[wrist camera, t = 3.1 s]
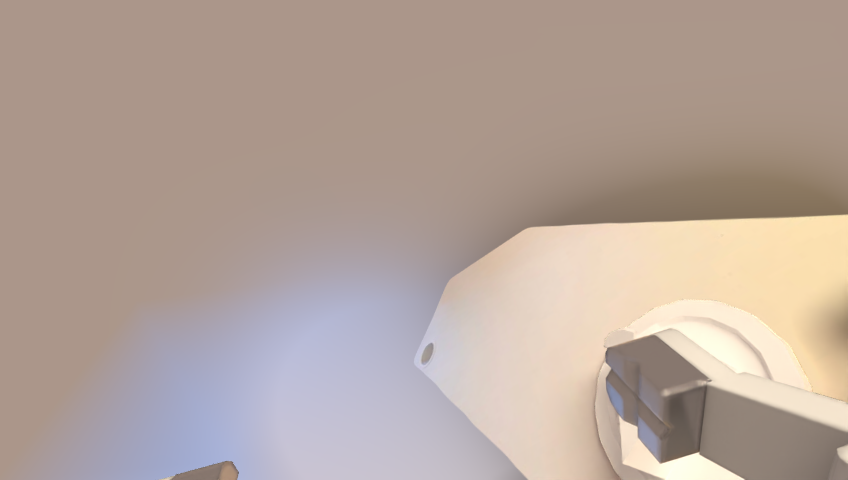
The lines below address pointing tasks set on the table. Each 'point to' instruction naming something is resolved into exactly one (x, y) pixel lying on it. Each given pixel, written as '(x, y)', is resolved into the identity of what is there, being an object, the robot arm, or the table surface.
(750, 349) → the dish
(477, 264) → the table surface
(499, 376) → the table surface
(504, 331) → the table surface
